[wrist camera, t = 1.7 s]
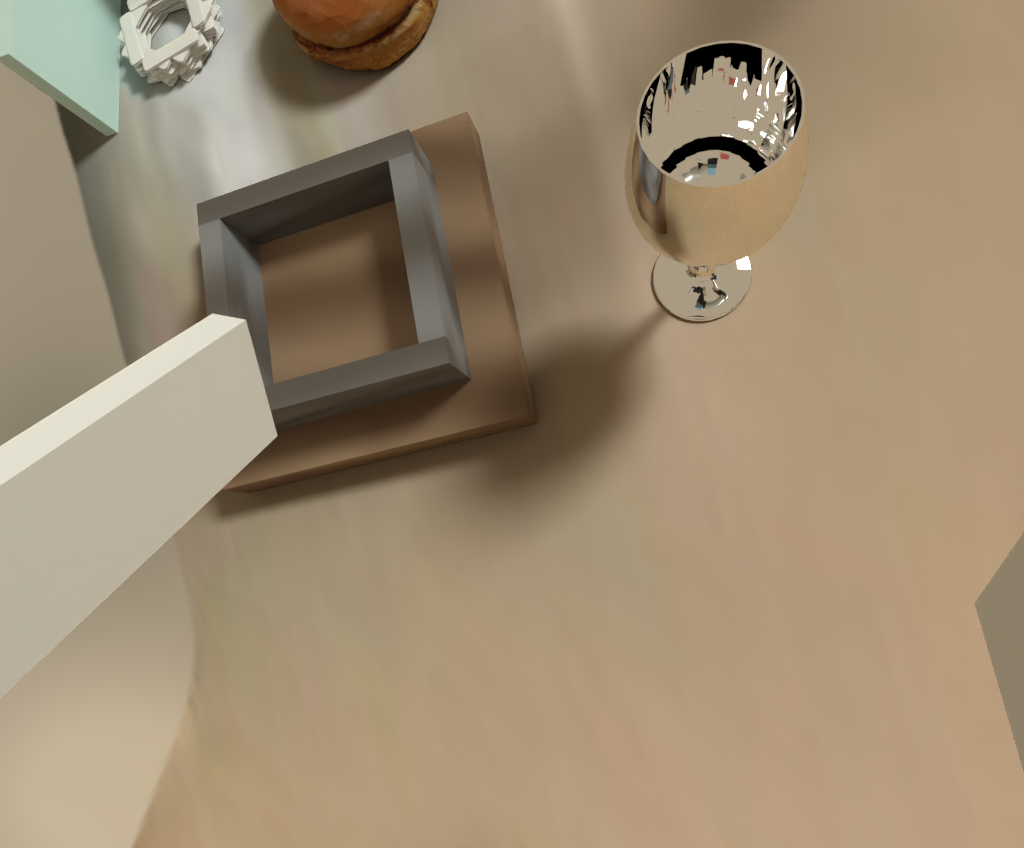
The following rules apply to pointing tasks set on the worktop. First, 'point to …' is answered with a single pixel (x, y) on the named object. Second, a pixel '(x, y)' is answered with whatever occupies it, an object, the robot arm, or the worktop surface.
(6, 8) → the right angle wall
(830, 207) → the worktop surface
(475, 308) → the socket base
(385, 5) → the burger
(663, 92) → the wineglass
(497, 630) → the worktop surface
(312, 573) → the worktop surface
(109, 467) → the robot arm
